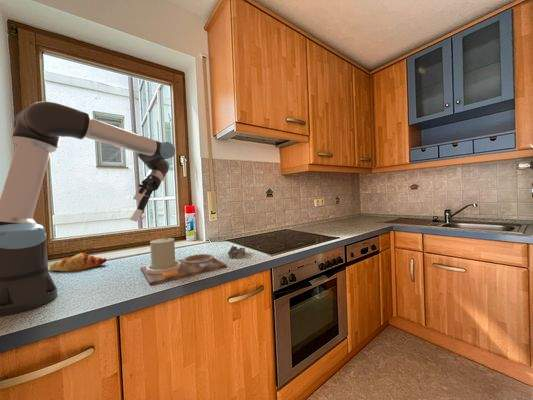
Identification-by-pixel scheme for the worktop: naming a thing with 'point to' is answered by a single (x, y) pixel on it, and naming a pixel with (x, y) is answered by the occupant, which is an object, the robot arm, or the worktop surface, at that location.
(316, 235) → the worktop surface
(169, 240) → the can
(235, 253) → the egg carton
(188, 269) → the walnut board
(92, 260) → the croissant
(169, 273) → the ring
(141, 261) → the worktop surface
